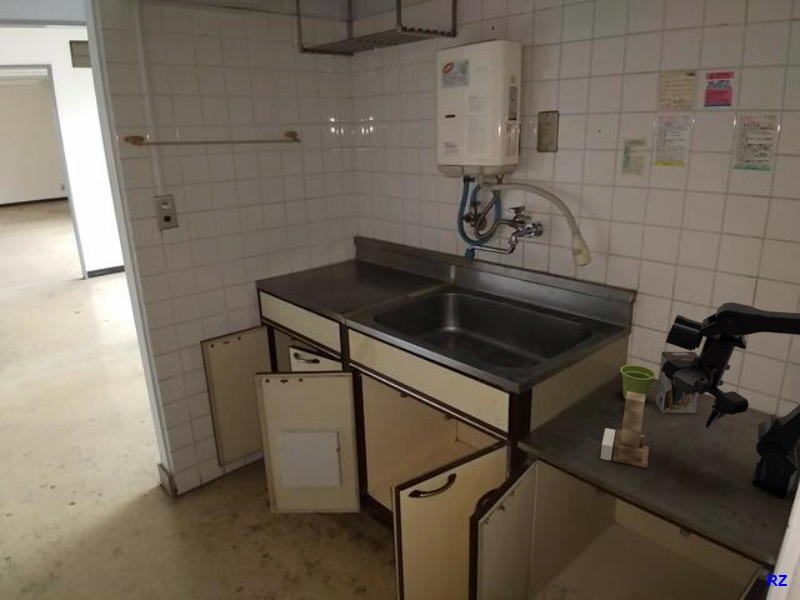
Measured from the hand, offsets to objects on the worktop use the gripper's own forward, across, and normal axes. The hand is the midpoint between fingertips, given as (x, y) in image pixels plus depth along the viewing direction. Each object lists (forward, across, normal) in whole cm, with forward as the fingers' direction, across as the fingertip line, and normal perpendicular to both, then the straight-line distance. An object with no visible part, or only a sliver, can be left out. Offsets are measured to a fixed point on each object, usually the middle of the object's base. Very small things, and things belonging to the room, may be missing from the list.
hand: (690, 415), depth 129 cm
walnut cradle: (+14, -5, -8) cm, 17 cm away
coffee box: (+13, -17, +21) cm, 30 cm away
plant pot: (+15, -26, +15) cm, 34 cm away
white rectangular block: (+15, -9, -12) cm, 21 cm away
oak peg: (+13, -6, -8) cm, 17 cm away
